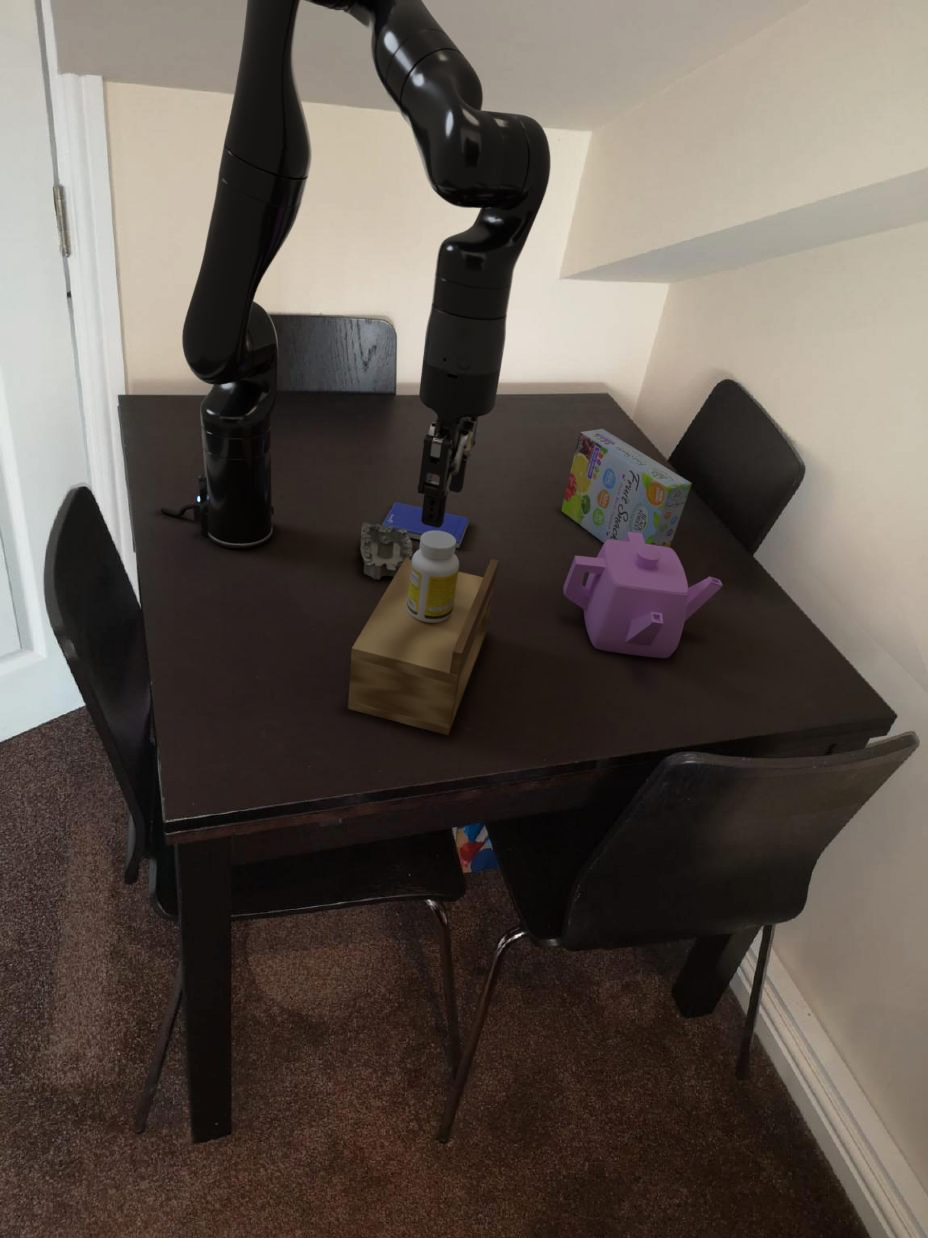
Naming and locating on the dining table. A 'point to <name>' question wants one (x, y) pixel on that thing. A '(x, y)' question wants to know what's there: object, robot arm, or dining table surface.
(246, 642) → the dining table surface
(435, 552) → the supplement bottle
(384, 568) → the egg carton
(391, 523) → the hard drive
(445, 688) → the lipped wooden block
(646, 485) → the snack box
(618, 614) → the teakettle
